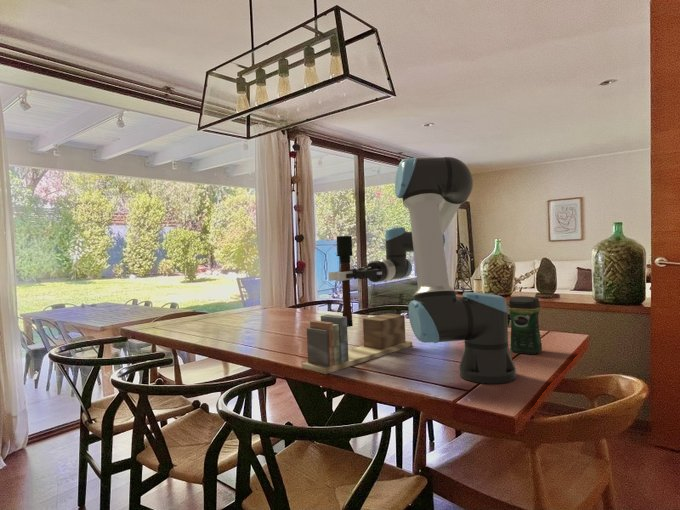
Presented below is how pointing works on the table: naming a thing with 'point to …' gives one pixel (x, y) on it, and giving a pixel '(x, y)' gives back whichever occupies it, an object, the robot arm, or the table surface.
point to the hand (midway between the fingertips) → (333, 276)
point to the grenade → (345, 252)
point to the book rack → (337, 346)
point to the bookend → (384, 331)
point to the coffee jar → (525, 325)
